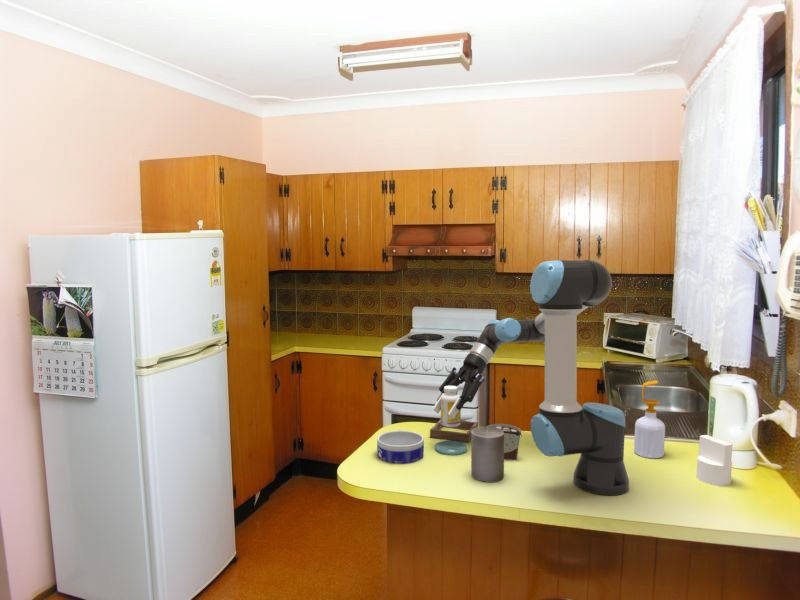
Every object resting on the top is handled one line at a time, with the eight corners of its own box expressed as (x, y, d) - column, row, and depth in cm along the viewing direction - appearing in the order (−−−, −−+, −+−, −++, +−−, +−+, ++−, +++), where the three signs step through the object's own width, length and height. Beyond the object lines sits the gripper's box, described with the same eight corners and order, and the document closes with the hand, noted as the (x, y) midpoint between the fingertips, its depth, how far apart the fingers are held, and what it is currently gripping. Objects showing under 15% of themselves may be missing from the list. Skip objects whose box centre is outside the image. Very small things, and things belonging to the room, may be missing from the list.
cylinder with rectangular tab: (689, 475, 173) (691, 437, 172) (710, 471, 177) (712, 433, 175) (716, 487, 165) (718, 447, 163) (737, 482, 168) (740, 442, 167)
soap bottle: (664, 460, 185) (669, 385, 182) (634, 456, 188) (637, 382, 185) (662, 450, 193) (666, 379, 191) (633, 447, 196) (636, 376, 194)
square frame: (468, 442, 200) (468, 434, 200) (430, 437, 205) (430, 429, 205) (477, 430, 213) (477, 422, 213) (441, 425, 218) (441, 418, 218)
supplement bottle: (464, 424, 194) (465, 387, 193) (452, 429, 189) (452, 391, 188) (448, 419, 199) (449, 383, 197) (436, 424, 194) (437, 387, 192)
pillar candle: (495, 467, 179) (495, 420, 177) (509, 480, 169) (509, 430, 168) (465, 471, 176) (466, 423, 174) (478, 484, 167) (478, 434, 165)
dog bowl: (367, 454, 189) (367, 437, 189) (402, 443, 200) (402, 427, 199) (398, 468, 178) (398, 449, 177) (433, 456, 188) (433, 438, 188)
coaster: (462, 457, 187) (462, 454, 187) (430, 452, 191) (430, 449, 191) (470, 445, 197) (470, 443, 197) (440, 441, 201) (440, 439, 201)
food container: (519, 453, 190) (520, 424, 189) (521, 460, 184) (522, 430, 183) (481, 452, 192) (482, 422, 191) (482, 459, 186) (483, 428, 185)
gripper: (504, 370, 194) (469, 427, 186) (462, 360, 209) (429, 412, 201) (494, 357, 190) (458, 414, 182) (452, 347, 205) (417, 400, 197)
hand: (443, 413), depth 191 cm, fingers closed on supplement bottle, 7 cm apart
